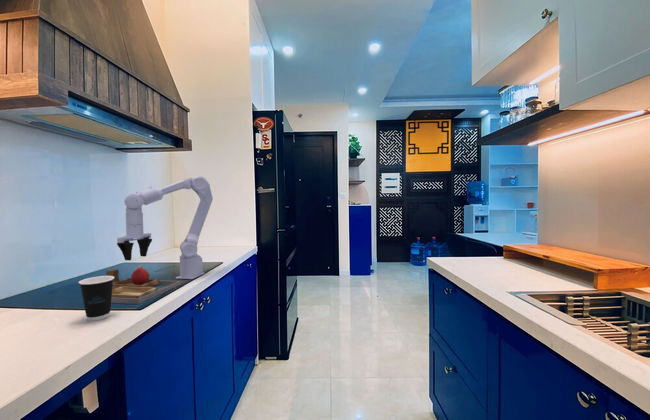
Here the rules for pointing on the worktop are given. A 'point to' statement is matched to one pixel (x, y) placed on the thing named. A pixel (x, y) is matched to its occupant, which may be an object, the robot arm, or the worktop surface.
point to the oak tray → (132, 292)
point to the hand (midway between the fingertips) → (135, 258)
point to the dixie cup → (97, 296)
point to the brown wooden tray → (139, 300)
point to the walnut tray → (128, 280)
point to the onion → (140, 276)
